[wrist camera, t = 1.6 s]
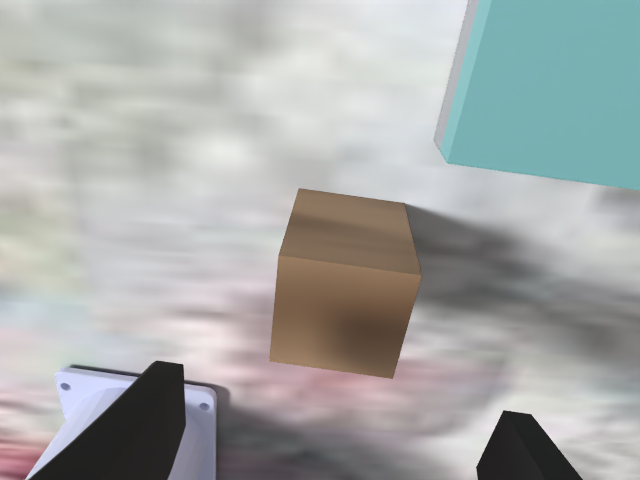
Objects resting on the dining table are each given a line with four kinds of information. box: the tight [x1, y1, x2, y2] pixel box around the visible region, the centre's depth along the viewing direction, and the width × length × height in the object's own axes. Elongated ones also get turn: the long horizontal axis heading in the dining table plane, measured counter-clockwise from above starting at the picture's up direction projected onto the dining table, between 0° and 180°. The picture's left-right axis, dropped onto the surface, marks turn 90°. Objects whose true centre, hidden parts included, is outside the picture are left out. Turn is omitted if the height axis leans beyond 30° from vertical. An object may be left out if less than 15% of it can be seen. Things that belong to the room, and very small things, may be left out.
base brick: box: [434, 0, 640, 190], centre depth 12 cm, size 7×7×2 cm
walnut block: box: [269, 188, 422, 379], centre depth 15 cm, size 4×4×5 cm
